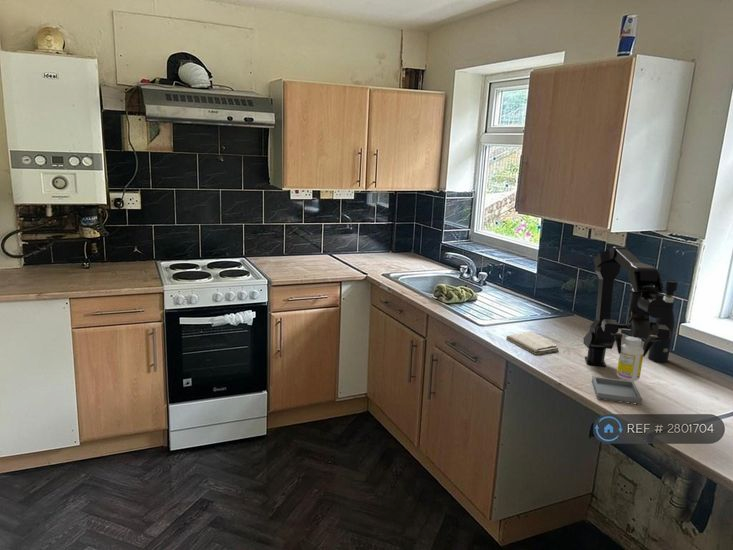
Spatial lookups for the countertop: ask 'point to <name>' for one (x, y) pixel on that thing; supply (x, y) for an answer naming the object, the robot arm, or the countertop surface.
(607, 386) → the tray
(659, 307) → the robot arm
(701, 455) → the countertop surface
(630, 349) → the supplement bottle
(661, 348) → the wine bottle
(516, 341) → the washcloth
